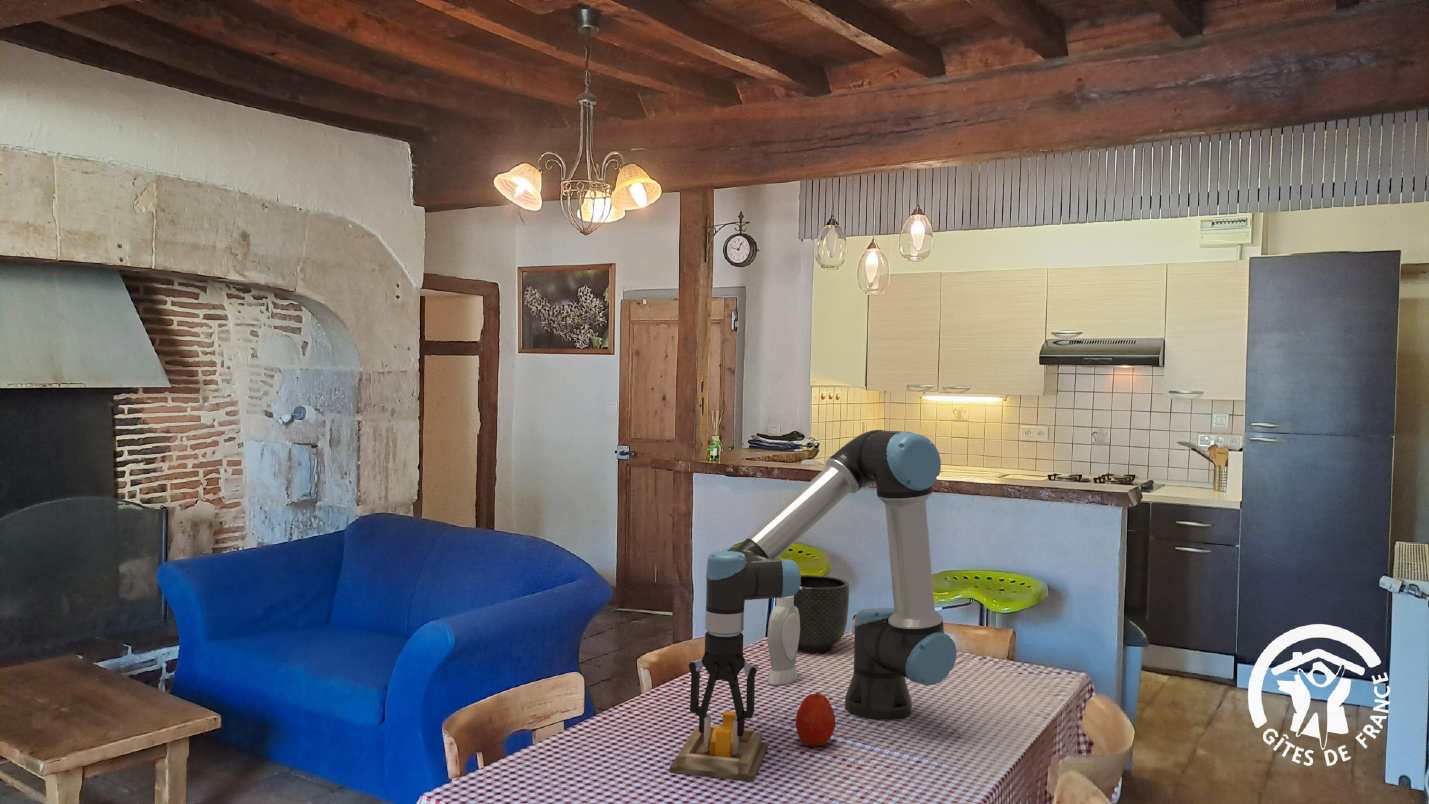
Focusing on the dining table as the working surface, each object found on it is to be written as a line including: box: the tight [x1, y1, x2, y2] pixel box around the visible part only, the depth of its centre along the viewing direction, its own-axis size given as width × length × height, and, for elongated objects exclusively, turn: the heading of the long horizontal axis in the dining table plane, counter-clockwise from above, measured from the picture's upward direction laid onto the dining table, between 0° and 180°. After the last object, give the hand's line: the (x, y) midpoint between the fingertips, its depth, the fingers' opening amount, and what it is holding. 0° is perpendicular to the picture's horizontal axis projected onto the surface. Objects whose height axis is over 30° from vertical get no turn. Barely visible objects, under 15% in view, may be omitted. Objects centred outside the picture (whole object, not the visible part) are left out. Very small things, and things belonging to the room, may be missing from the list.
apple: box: [795, 691, 836, 747], centre depth 199 cm, size 8×8×11 cm
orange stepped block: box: [710, 711, 737, 758], centre depth 189 cm, size 12×4×6 cm, turn 172°
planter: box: [793, 574, 850, 654], centre depth 274 cm, size 20×20×19 cm
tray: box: [669, 724, 769, 782], centre depth 189 cm, size 16×18×3 cm
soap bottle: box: [767, 587, 803, 686], centre depth 241 cm, size 13×8×24 cm, turn 139°
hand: (721, 750), depth 189 cm, fingers open, 5 cm apart
